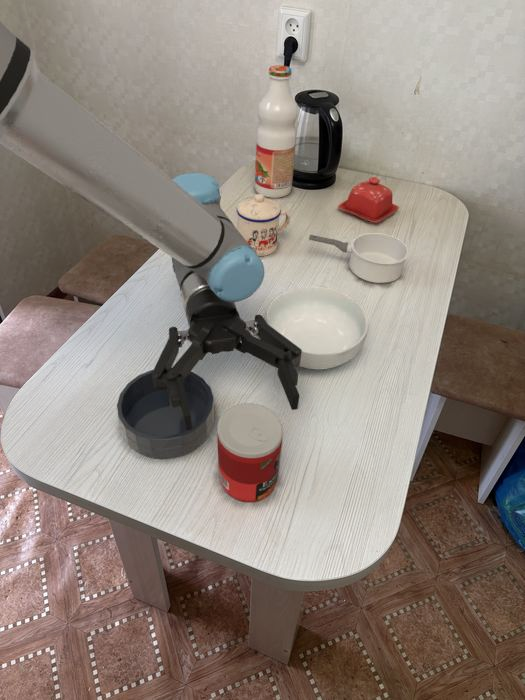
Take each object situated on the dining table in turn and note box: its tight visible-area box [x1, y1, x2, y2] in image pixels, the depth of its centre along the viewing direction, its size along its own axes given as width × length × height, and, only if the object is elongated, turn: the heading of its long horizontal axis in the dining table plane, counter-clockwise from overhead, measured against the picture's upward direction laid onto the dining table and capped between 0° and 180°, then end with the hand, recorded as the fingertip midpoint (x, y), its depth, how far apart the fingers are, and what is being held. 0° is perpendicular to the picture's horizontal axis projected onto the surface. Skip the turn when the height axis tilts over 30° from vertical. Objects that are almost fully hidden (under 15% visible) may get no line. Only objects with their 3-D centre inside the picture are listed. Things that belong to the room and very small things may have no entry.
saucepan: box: [308, 232, 410, 284], centre depth 103 cm, size 12×20×6 cm, turn 76°
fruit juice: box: [254, 64, 299, 199], centre depth 119 cm, size 9×9×28 cm
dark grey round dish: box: [116, 369, 215, 460], centre depth 72 cm, size 13×13×4 cm
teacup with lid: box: [235, 193, 291, 257], centre depth 105 cm, size 12×9×12 cm
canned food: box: [216, 402, 284, 503], centre depth 64 cm, size 8×8×11 cm
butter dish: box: [337, 176, 400, 224], centre depth 119 cm, size 12×12×8 cm
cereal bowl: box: [264, 285, 369, 370], centre depth 84 cm, size 17×17×7 cm
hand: (243, 412), depth 62 cm, fingers open, 13 cm apart
